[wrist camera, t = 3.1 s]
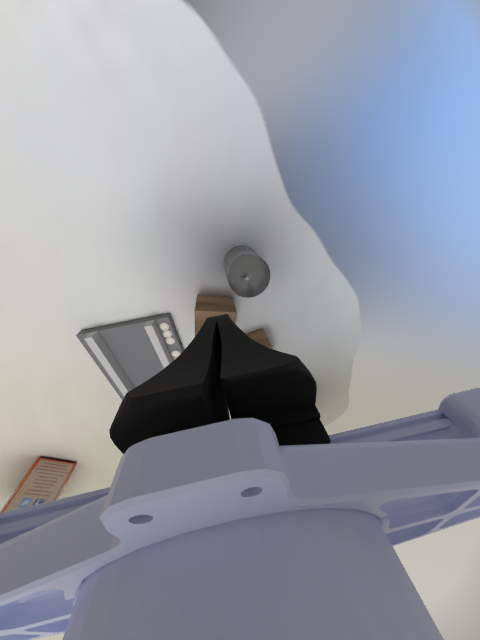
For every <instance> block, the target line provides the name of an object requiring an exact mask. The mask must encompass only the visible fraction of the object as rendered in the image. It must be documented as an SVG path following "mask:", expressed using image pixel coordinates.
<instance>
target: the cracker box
mask: <svg viewBox="0 0 480 640" xmlns="http://www.w3.org/2000/svg"><path fill="white" fill-rule="evenodd" d="M75 465H76V463H71V462H65V461H59V460H53V459H48V458H41V457H39V458H38V459H37V460H36V462H35V463H34V465H33V466H32V467H31V469H30V470H29V472H28V473H27V474H26V476H25V477H24V479H23V480H22V481H21V483H20V484H19V486H18V487H17V488H16V490H15V491H14V493H13V494H12V495H11V497H10V498H9V500H8V501H7V503H6V504H5V505H4V507H3V508H2V510H1V511H0V513H3V512H8V511H12V510H16V509H20V508H25V507H29V506H33V505H37V504H41V503H46V502H50V501H54V500H57V499H58V498H59V496H60V494H61V492H62V490H63V488H64V486H65V484H66V483H67V481H68V479H69V477H70V475H71V473H72V471H73V469H74V467H75Z"/></svg>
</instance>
